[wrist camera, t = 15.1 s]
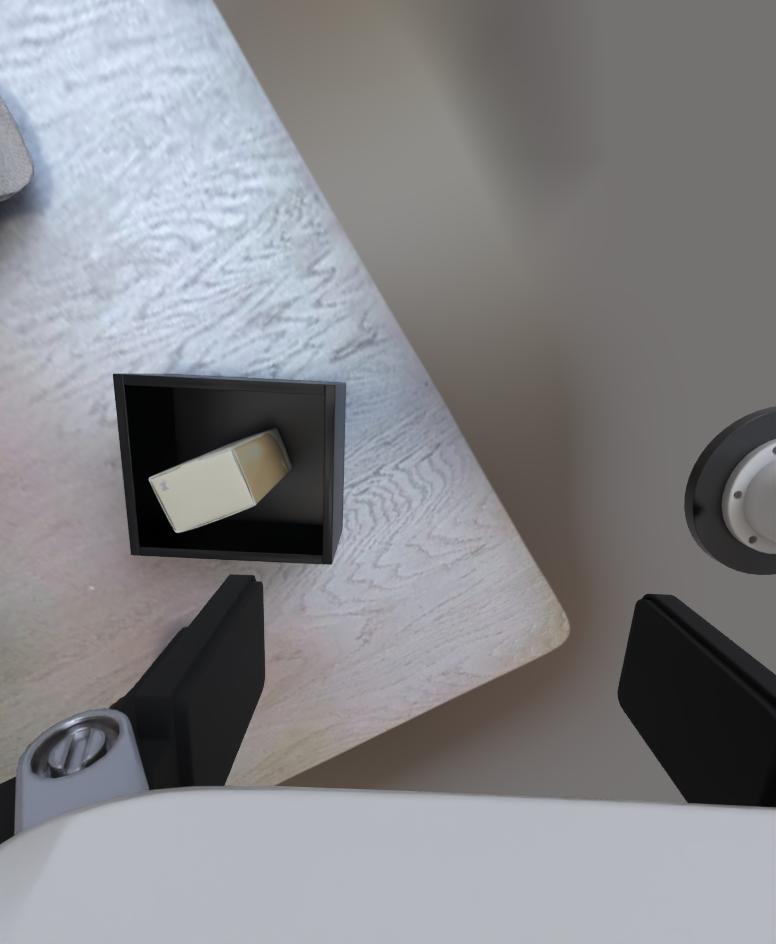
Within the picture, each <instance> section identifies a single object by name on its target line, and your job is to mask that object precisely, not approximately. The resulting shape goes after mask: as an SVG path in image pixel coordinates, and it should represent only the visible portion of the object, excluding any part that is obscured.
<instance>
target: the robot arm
mask: <svg viewBox="0 0 776 944" xmlns="http://www.w3.org/2000/svg"><path fill="white" fill-rule="evenodd" d="M722 514H723V518H724V521H725V524H726V526H727V528H728V530H729V531H730V533H731V534H732V535H733V536H734V537H735V538H736V539H737V540H738V541H739V542H741V543H743V544H744V545H746V546H748V547H750V548H752V549H755V550H757V551H760V552H764V553H768V554H776V439H774V440H770V441H768V442H766V443H764V444H762V445H760V446H758V447H757V448H755V449H754V450H753V451H751V452H750V453H749V454H747V455H746V456H745V457H744V458H743V459H742V460H741V461H740V462H739V463H738V465H737V466H736V467H735V469H734V470H733V471H732V473H731V475H730V477H729V479H728V481H727V483H726V485H725V489H724V492H723V496H722ZM264 681H265V649H264V604H263V584H262V582H258V581H256V579H255V576H254V575H234V574H231V575H229V576H228V578H227V579H226V580H225V581H224V583H223V584H222V585H221V586H220V588H219V589H218V590H217V591H216V593H215V594H214V595H213V596H212V598H211V599H210V600H209V601H208V603H207V604H206V605H205V606H204V608H203V609H202V610H201V611H200V613H199V614H198V615H197V616H196V618H195V619H194V620H193V621H192V623H191V624H190V625H189V626H188V627H185V628H183V629H181V630H180V631H179V632H178V633H177V635H176V636H175V637H174V638H173V640H172V641H171V642H170V643H169V644H168V646H167V647H166V648H165V649H164V651H163V652H162V653H161V654H160V655H159V657H158V658H157V659H156V660H155V662H154V663H153V664H152V665H151V666H150V668H149V669H148V670H147V671H146V673H145V674H144V675H143V676H142V677H141V679H140V680H139V681H138V682H137V684H136V685H135V686H134V687H133V688H132V690H131V691H130V692H129V693H128V695H127V696H126V697H125V698H124V699H123V701H122V702H121V703H120V704H119V705H118V707H117V708H116V709H106V708H103V709H95V710H89V711H85V712H82V713H79V714H75V715H73V716H71V717H68V718H66V719H64V720H62V721H60V722H58V723H56V724H55V725H53V726H52V727H50V728H49V729H47V730H46V731H44V732H43V733H41V734H40V735H39V736H38V737H37V738H36V739H35V740H34V741H33V742H32V743H31V744H29V745H28V747H27V748H26V750H25V751H24V753H23V754H22V756H21V757H20V759H19V762H18V766H17V769H16V777H14V778H12V779H10V780H8V781H6V782H4V783H2V784H0V944H776V675H775V674H774V673H773V672H771V671H770V670H769V669H767V668H766V667H765V666H764V665H762V664H761V663H760V662H758V661H757V660H756V659H754V658H753V657H752V656H751V655H749V654H748V653H747V652H746V651H744V650H743V649H742V648H740V647H739V646H738V645H737V644H735V643H734V642H733V641H732V640H730V639H729V638H728V637H726V636H725V635H724V634H723V633H721V632H720V631H719V630H717V629H716V628H715V627H714V626H712V625H711V624H710V623H708V622H707V621H706V620H705V619H703V618H702V617H701V616H699V615H698V614H697V613H695V612H694V611H693V610H692V609H690V608H689V607H688V606H686V605H685V604H684V603H683V602H681V601H680V600H679V599H677V598H676V597H675V596H672V595H660V594H646V595H644V597H643V598H642V599H640V600H638V601H637V603H636V605H635V610H634V615H633V619H632V624H631V629H630V634H629V639H628V643H627V649H626V653H625V658H624V663H623V667H622V673H621V677H620V682H619V687H618V700H619V703H620V705H621V707H622V709H623V710H624V712H625V713H626V715H627V716H628V718H629V719H630V720H631V722H632V723H633V725H634V726H635V728H636V729H637V731H638V732H639V733H640V735H641V736H642V738H643V739H644V741H645V742H646V744H647V745H648V746H649V748H650V749H651V751H652V752H653V754H654V755H655V757H656V758H657V759H658V761H659V762H660V764H661V765H662V767H663V768H664V769H665V771H666V772H667V774H668V775H669V776H670V778H671V780H672V781H673V782H674V784H675V785H676V787H677V788H678V789H679V791H680V792H681V794H682V795H683V797H684V798H685V800H686V801H687V802H688V803H674V802H654V801H634V800H614V799H591V798H568V797H546V796H521V795H497V794H475V793H474V794H473V793H448V792H421V791H394V790H393V791H392V790H366V789H336V788H311V787H309V788H308V787H282V786H224V785H225V783H226V780H227V778H228V775H229V773H230V770H231V768H232V765H233V763H234V760H235V758H236V755H237V753H238V750H239V748H240V745H241V743H242V740H243V738H244V735H245V733H246V730H247V728H248V725H249V723H250V720H251V718H252V716H253V713H254V711H255V708H256V706H257V703H258V701H259V698H260V696H261V693H262V690H263V687H264Z"/></svg>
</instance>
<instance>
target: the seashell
mask: <svg viewBox="0 0 776 944" xmlns="http://www.w3.org/2000/svg"><path fill="white" fill-rule="evenodd" d="M33 174H34V167H33V162H32V158H31V155H30V153H29V150H28V148H27V146H26V144H25V142H24V139H23V137H22V135H21V132H20V130H19V128H18V125H17V123H16V122H15V120H14V118H13V117H12V115H11V114H10V112H9V110H8V108H7V106H6V105H5V103H4V101H3V99H2V98H1V97H0V202H1V201H4V200H7V199H9V198H10V197H12V196H13V195H15V194H16V193H18V192H20V191H21V190H23V189H24V188H25V186H26V185H27V184H29V183H30V181H31V179H32V177H33Z"/></svg>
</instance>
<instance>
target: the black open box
mask: <svg viewBox="0 0 776 944" xmlns="http://www.w3.org/2000/svg"><path fill="white" fill-rule="evenodd" d="M113 381H114V391H115V400H116V410H117V420H118V430H119V440H120V450H121V460H122V470H123V480H124V489H125V499H126V509H127V519H128V529H129V539H130V549H131V555H141V556H159V557H180V558H201V559H222V560H244V561H265V562H286V563H308V564H322V563H323V564H332V562H333V559H334V556H335V553H336V549H337V546H338V543H339V539H340V536H341V533H342V526H343V487H344V447H345V407H346V383H341V382H321V381H301V380H281V379H261V378H242V377H222V376H202V375H182V374H113ZM271 428H277V429H278V431H279V434H280V436H281V438H282V441H283V443H284V446H285V448H286V451H287V453H288V456H289V459H290V461H291V464H292V466H293V468H292V469H291V471H289V472H288V473H287V474H286V475H285V476H284V477H283V478H282V479H281V480H280V481H279V482H278V483H277V484H276V485H275V486H274V487H273V488H272V489H271V490H270V491H269V492H268V493H267V494H266V495H265V496H264V497H263V498H262V499H261V500H260V501H259V502H258V503H257V504H256V505H255V506H253V507H250V508H248V509H246V510H243V511H240V512H238V513H236V514H233V515H230V516H228V517H225V518H223V519H220V520H217V521H214V522H211V523H209V524H206V525H203V526H200V527H197V528H194V529H191V530H187V531H184V532H180V533H176V532H175V531H174V529H173V527H172V525H171V523H170V522H169V520H168V518H167V516H166V514H165V512H164V510H163V508H162V506H161V504H160V502H159V500H158V498H157V496H156V494H155V492H154V490H153V487H152V486H151V484H150V482H149V478H150V477H152V476H154V475H156V474H158V473H161V472H163V471H165V470H168V469H170V468H173V467H175V466H177V465H180V464H182V463H184V462H187V461H189V460H192V459H194V458H197V457H199V456H201V455H204V454H206V453H208V452H211V451H213V450H216V449H218V448H220V447H223V446H225V445H227V444H230V443H232V442H235V441H238V440H240V439H243V438H245V437H248V436H251V435H254V434H257V433H259V432H262V431H265V430H268V429H271Z"/></svg>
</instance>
